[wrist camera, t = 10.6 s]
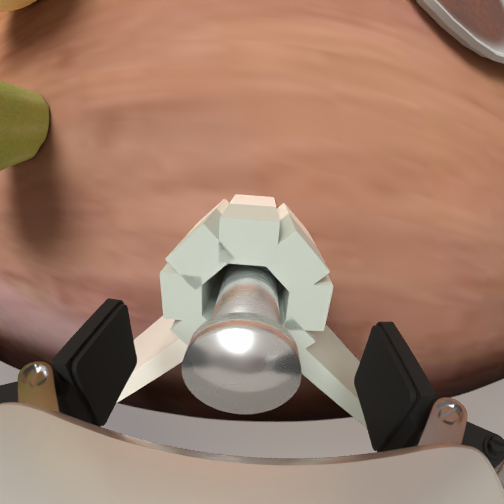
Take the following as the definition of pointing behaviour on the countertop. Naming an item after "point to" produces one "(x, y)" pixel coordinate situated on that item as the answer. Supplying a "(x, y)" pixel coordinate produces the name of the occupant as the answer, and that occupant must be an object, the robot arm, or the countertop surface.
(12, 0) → the sculpture
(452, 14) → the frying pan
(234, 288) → the hinge pin
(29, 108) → the plant pot
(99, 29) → the countertop surface
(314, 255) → the hinge
